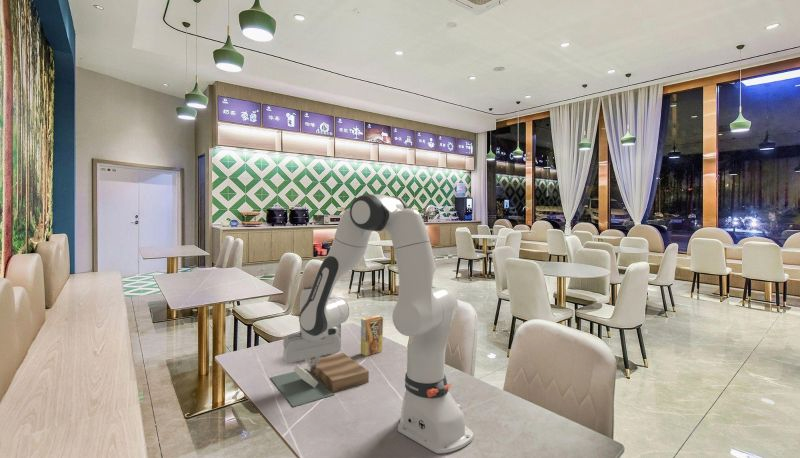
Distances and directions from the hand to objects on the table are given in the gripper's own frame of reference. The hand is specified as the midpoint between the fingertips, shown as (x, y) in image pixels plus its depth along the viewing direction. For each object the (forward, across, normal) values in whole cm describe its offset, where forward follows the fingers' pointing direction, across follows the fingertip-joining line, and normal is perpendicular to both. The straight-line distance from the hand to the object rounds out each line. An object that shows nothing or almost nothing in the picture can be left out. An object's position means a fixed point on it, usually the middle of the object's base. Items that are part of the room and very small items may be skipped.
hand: (312, 368), depth 139 cm
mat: (+5, -4, 0) cm, 7 cm away
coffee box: (+6, +17, +25) cm, 31 cm away
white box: (+1, -2, 0) cm, 2 cm away
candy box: (+5, +32, +13) cm, 35 cm away
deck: (+5, +10, 0) cm, 11 cm away
